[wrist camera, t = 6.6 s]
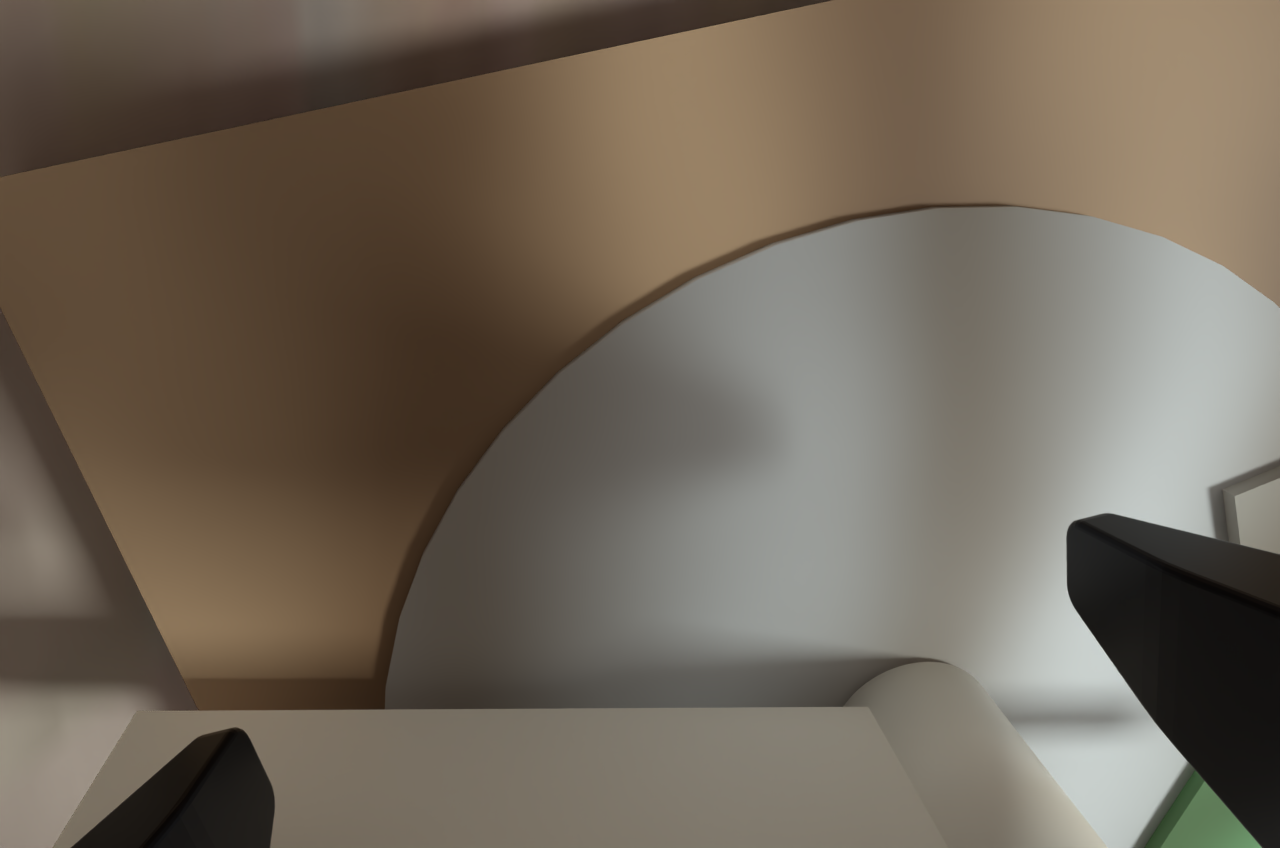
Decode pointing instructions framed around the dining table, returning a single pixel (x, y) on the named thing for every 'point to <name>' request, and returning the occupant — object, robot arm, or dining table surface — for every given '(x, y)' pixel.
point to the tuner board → (691, 369)
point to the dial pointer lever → (637, 774)
